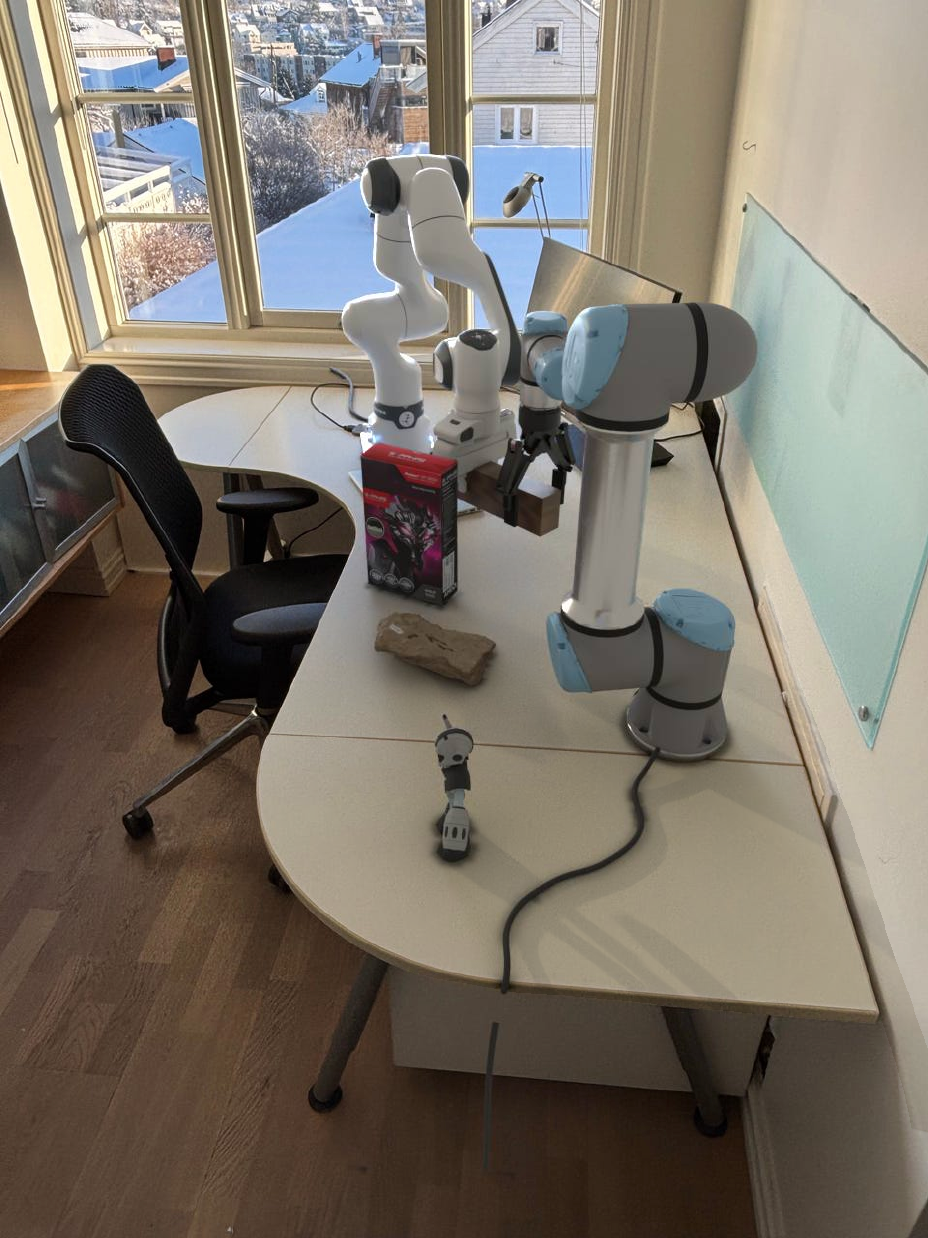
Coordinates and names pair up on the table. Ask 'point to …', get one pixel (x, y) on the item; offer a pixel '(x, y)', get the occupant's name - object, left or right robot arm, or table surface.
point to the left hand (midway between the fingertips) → (475, 486)
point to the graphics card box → (411, 521)
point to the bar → (533, 503)
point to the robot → (454, 790)
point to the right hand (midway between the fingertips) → (534, 513)
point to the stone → (434, 646)
